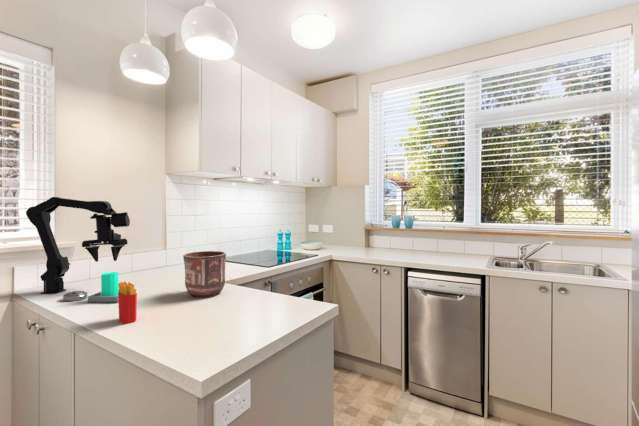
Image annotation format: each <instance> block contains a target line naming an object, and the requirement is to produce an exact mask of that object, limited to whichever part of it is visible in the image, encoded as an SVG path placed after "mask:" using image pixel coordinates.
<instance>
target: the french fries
mask: <svg viewBox="0 0 639 426" xmlns="http://www.w3.org/2000/svg"><path fill="white" fill-rule="evenodd" d="M118 285H119V292H118V301H119V302H118V319H119V322H121V324H132V323H135V322H136V321H137V307H138V305H137V303H138V302H137V299H138V293H137V289H136V288H135V284H133V283H132V282H126V281H121V282H119V284H118Z"/></svg>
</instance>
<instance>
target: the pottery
mask: <svg viewBox="0 0 639 426" xmlns="http://www.w3.org/2000/svg"><path fill="white" fill-rule="evenodd" d="M226 260H227V253H226V252H225V251H219V250H218V251H217V250H216V251H215V250H213V251H212V250H205V251H194V252H188V253H185V254H184V255H183V263H184V285H185V289H186V290H187V292H188V294H190V295H191V296H192V297H196V298H208V297H214V296H217V295H219V294H220V293H221V292H222V291H223V289H224V286H225V285H226Z"/></svg>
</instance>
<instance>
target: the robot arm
mask: <svg viewBox="0 0 639 426" xmlns="http://www.w3.org/2000/svg"><path fill="white" fill-rule="evenodd" d="M59 207H65V208H73V209H81V210H86V211H89V212H92V213H93V215H92V216H89V218H90V219H91V220H92V219H95V224H96V230H94V233H95V234H96V239H90V240H89V239H88V240H83V241H82V242H81V247H82V248H84V250H87V252H88V253H89V254H90V256H91V258H93V260H94V261H95V262H99V248H100V246H103V245H104V246H106V245H107V246H110V245H111V247H110V251H111V254H112V258H113V261H114V262H116V261H117V260H118V257H119V254H120V251H121V249H122V248H123V247H126V245H128V240H127V238H122V235H121V234H119V233H116V232H115V230H114V229H112V226H113V227H114V228H123V227H124V228H125V227H129V226H130V223H131V219H130V217H129V215H128V212H116V211H115V210H114V208H113V207H112V204H111V203H110V201H107V200H89V201H86V200H78V199H72V198H71V199H70V198H65V197H59V196H52V197H51V196H50V198H49V199H47V200H44V201H42V202H41V203H38V204H37V205H35V206H30V207H29V208H27V210H26V212H25V214H26V217H27V218H28V220H29V222H30V223H31V224H32V225H33V226H34V227H35V228H36V231H37V233H38V236H39V239H40V241H41V244H42V248H43V250H44V253H45V255H46V264H45V265H46V266H45V267H46V270H45V271H44V272H43V274H41V275H40V276H39V277H40V279H41V282H43V291H41V292H40V295H42V294H43V295H45V294H46V295H48V294H49V295H53V294H54V295H55V294H58V293H62V292H64V291H66V289H65V287H64V285H65V284H64V283H65V282H64V278H63V277H65V274H66V273H67V272H68V271H69V270H70V265H71V263H70V262H69V258H68V256H63V255H61V253H60V249H59V247H58V244H57V242H56V239H55V235H54V233H53V231H52V227H51V219H52V218H51V214H52V213H53V212H54V211H56V209H58V208H59Z"/></svg>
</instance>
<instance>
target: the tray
mask: <svg viewBox="0 0 639 426" xmlns="http://www.w3.org/2000/svg"><path fill="white" fill-rule="evenodd" d="M87 303H88V304H93V303H94V304H95V303H97V304H119V301H118V296H101V291H98V292H96V293H94V294H91V295H89V296H88V295H87Z"/></svg>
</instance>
